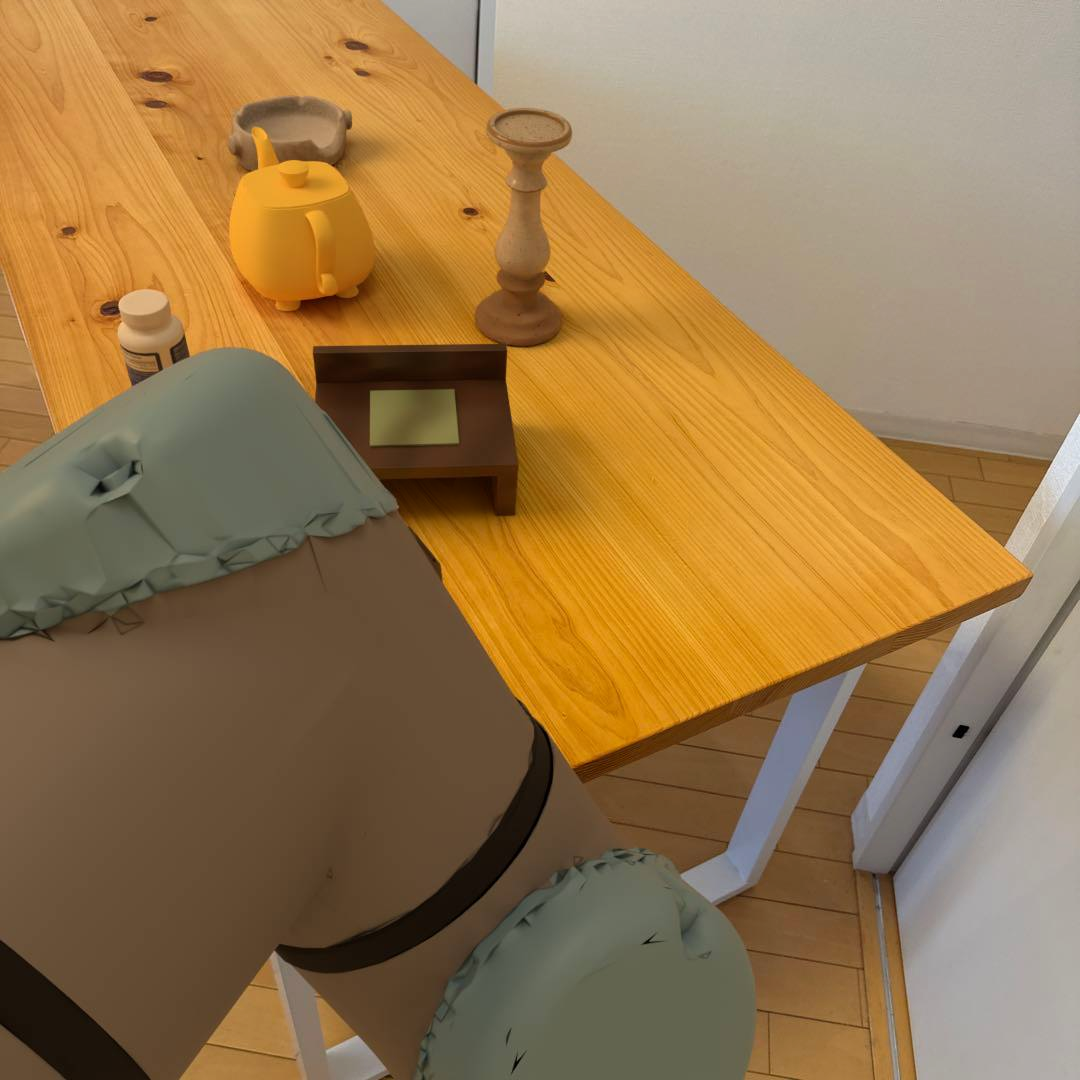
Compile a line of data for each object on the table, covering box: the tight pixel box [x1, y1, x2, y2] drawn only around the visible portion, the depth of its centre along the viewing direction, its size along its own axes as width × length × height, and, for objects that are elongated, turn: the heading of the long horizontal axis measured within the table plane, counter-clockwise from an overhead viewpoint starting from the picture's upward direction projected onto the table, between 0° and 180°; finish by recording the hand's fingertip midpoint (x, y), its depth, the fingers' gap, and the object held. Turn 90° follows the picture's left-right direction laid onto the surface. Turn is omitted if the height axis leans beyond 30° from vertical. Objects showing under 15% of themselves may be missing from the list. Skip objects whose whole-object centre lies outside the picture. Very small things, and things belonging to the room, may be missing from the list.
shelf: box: [312, 343, 519, 517], centre depth 83 cm, size 16×12×9 cm
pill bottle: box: [117, 288, 191, 387], centre depth 87 cm, size 5×5×10 cm
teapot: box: [228, 127, 377, 312], centre depth 101 cm, size 14×20×13 cm
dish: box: [227, 94, 353, 172], centre depth 123 cm, size 14×14×5 cm
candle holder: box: [474, 107, 573, 347], centre depth 95 cm, size 9×9×20 cm
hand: (221, 659), depth 51 cm, fingers open, 13 cm apart
